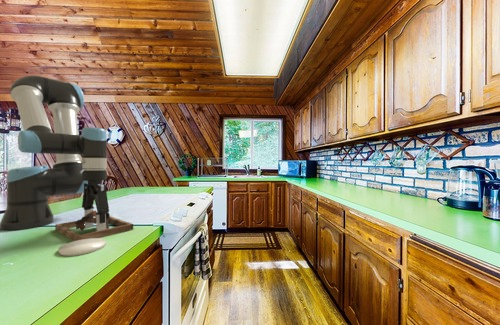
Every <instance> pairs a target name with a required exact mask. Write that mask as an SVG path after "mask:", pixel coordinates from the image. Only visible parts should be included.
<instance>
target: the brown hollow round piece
mask: <svg viewBox="0 0 500 325" xmlns="http://www.w3.org/2000/svg"><path fill="white" fill-rule="evenodd" d="M96 213H97V209H96V210H93V212H91V213H89V214H87V215H86V216H82V217H81V218H80V219H77V220H75V221H76V222H75V224H76V227H75V230H78V229H79V230H81V231H84V230H85V229H86V228H85V225H84V224H85V222H87V223H89V222H90V223H92V222H94V220H93V218H95V217H96ZM110 217H111V215H110V213H109V212H107V213H106V229H109V228H110V225H109V222H108V220H109V218H110Z"/></svg>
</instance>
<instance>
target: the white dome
mask: <svg viewBox="0 0 500 325" xmlns="http://www.w3.org/2000/svg"><path fill="white" fill-rule="evenodd" d="M106 245H107V243H106V239H105V238H102V237H100V238H90V239H82V240H78V241H73V240H72V241H71V242H68V243H65V244H62V245H61V246H59V248H58V255H61V256H63V257H65V256H66V257H75V256H81V255H86V254H91V253H94V252H96V251H99V250H102V249H103V248H104V247H106Z"/></svg>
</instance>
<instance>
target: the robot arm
mask: <svg viewBox="0 0 500 325" xmlns="http://www.w3.org/2000/svg"><path fill="white" fill-rule="evenodd" d="M9 90H10V91H9V93H10V94H9V95H10V97H11V99H12V100H13V101H14V102H15V103H16V106H17V109H18V110H17V111H18V114H19V117H20V121H21V124H22V129H23V130H20V131H18V135H17V147H18V150H19V151H20V152H21V153H26V154H35V155H36V154H37V155H38V154H50V155H51V154H52V155H53V154H54V155H56V162H54V164H53V165H52V168H49V166H48V165H34V166H26V167H25V166H24V167H17V168H11V169H10V170H8V172H7V175H6V181H5V183H6V208H5V211H4V213H3V216H2V218H1V220H0V230H3V231H16V230H18V231H19V230H26V229H27V230H28V229H32V228H33V229H34V228H37V227H42V226H46V225H49V224H52V223H53V222H55V221H54V219H55V218H54V217H55V216H54V214H53V212H52V210H51V208H50V205H49V197H57V196H65V195H66V196H67V195H78V194H83V195H82V202H81V208H83V210H84V216H86V215H87V214H89V213H91V212H93V211H94V209H95V208H96V212H97V213H96V223H95V224H96V231H100V230H105V229H106V213H107V212H108V213H109V212H110V209H109V208H110V207H109V201H108V195H107V184H103V182H102V181H106V180H107V179H108V177H107V175H108V174H107V172H108V171H107V170H106V169H107V168H108V157H107V155H108V154H107V152H108V151H107V150H108V149H107V146H108V145H107V142H108V141H107V140H108V138H107V131H106V129H105V128H101V127H93V126H92V127H91V126H90V127H89V126H87V127H86V126H85V127H83V128H82V129H81V134H79V128H78V127H79V126H78V118H77V115H78V113H79V112H80V110H81V109H83V107H84V104H85V102H84V101H85V96H84V92H83V90H82V88H81V87H80V86H79V85H77V84H74V83H71V82H68V81H62V80H58V79H54V78H49V77H45V76H40V75H34V74H33V75H32V74H31V75H26V76H22V77H20V78H17V79H15V81H13V83H11V86H10V88H9ZM44 104H45V105H47V109H48V110H49V111H51V112H52V117H53V128H54V132H53V130H52V126H51V124H50V123H51V122H50V121H49V119H48V115H47V113H46V109H45V107H44ZM94 204H95V207H94ZM84 216H83V217H84ZM84 226H85V229H86V228H90V227H91V228H93V227H94V223H93V222H92V223H90V222H89V223H87V222H85V225H84Z"/></svg>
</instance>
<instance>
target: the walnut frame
mask: <svg viewBox="0 0 500 325" xmlns="http://www.w3.org/2000/svg"><path fill="white" fill-rule="evenodd" d="M93 220H94V222H93V224H96V217H94V218H93ZM76 221H77V220H75V221H73V220H72V221H68V222H62V223H58V224H57V223H56V224H55V227H54V228H55V231H57V232H58V233H60V234H61V235H63V236H64V237H66V238H68V239H70V240H71V241H72V242H73V241H78V240H82V239H90V238H102V237H108V236H111V235H117V234H120V233H125V232H129V231H133V230H134V223H132V222H129V221H125V220H122V219H119V218H116V217H113V216H110V218H109V220H108V222H107V223H109V222H110V223H109V224H112V223H113V225H115V227H109V228H108V229H105V230H100V231H97V230H96V231H91V232H87V233H83V234H79V233H78V232H75V231H74V230H72V229H71V228H76V224H75V222H76Z"/></svg>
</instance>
